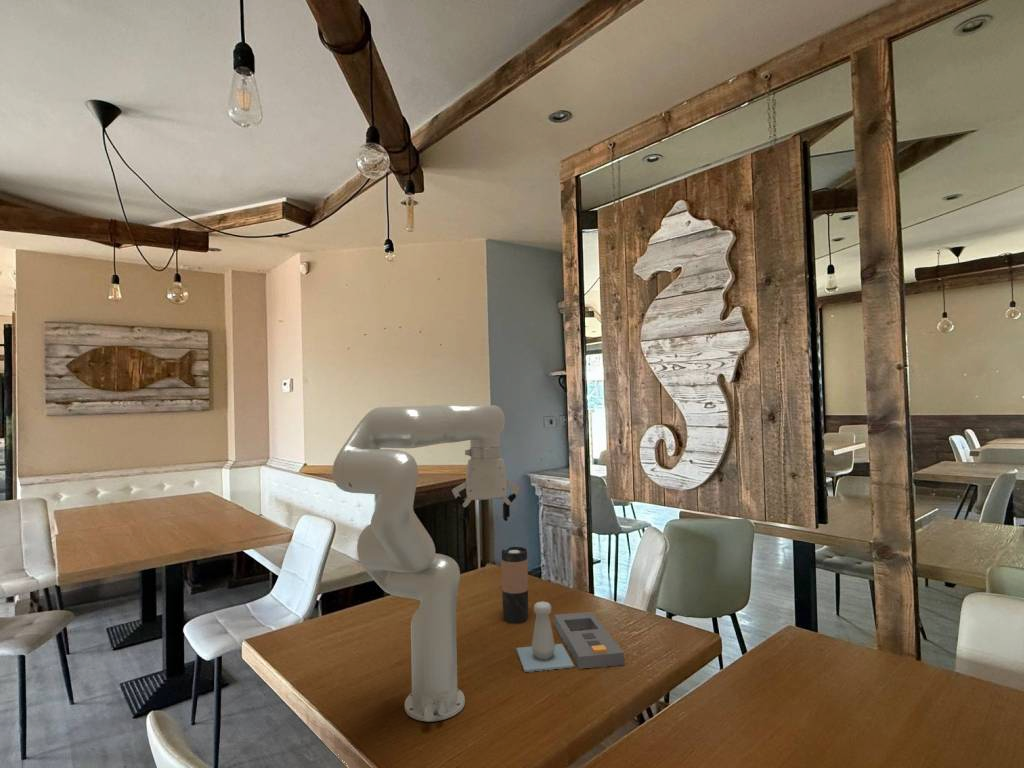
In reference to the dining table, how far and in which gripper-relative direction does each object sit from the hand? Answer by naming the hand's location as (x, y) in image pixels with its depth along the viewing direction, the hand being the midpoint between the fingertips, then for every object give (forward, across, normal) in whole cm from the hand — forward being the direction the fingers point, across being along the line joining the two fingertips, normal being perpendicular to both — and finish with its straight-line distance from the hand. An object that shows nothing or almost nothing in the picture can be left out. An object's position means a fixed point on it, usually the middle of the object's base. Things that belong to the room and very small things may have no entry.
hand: (486, 520), depth 142 cm
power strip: (+33, +26, 0) cm, 42 cm away
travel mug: (+34, +10, +20) cm, 40 cm away
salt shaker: (+33, +13, -6) cm, 36 cm away
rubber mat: (+33, +13, -6) cm, 36 cm away
